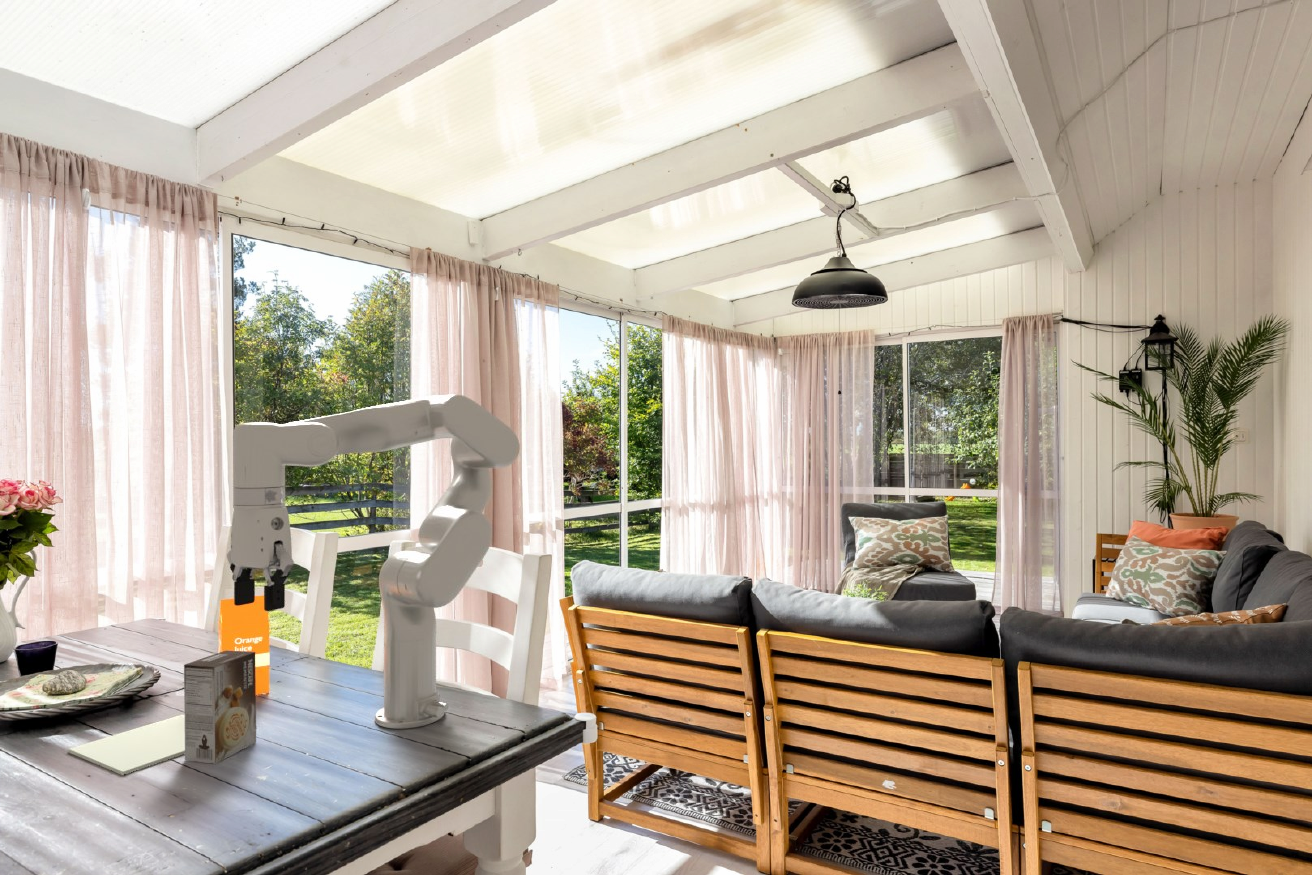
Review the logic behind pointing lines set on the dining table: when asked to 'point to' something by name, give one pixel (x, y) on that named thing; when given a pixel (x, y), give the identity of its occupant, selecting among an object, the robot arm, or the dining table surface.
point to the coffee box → (219, 705)
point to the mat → (137, 746)
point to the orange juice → (247, 635)
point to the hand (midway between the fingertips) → (259, 605)
